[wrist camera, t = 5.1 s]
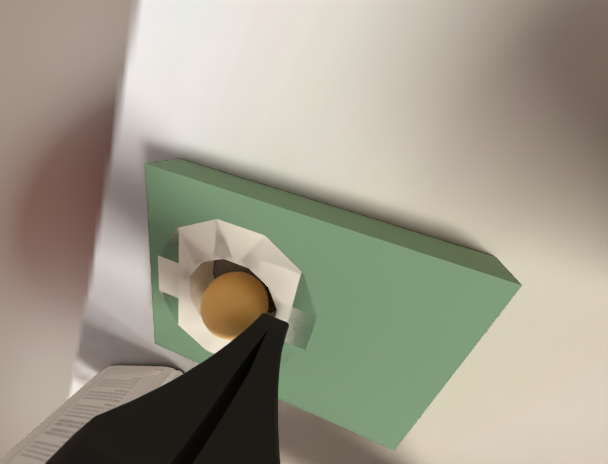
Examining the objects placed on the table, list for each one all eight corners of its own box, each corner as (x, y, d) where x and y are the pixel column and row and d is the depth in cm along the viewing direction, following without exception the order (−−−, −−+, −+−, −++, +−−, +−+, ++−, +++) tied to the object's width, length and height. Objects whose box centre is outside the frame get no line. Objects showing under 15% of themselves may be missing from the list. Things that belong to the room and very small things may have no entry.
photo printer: (125, 393, 25) (-72, 599, 14) (102, 361, 24) (-133, 560, 13) (203, 398, 22) (21, 680, 10) (181, 360, 20) (-52, 636, 9)
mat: (495, 257, 11) (522, 285, 9) (392, 411, 16) (394, 450, 14) (179, 158, 13) (145, 163, 11) (178, 320, 18) (154, 343, 16)
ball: (230, 248, 14) (286, 279, 14) (220, 280, 16) (268, 307, 16) (186, 299, 11) (257, 338, 11) (182, 329, 13) (241, 361, 14)
